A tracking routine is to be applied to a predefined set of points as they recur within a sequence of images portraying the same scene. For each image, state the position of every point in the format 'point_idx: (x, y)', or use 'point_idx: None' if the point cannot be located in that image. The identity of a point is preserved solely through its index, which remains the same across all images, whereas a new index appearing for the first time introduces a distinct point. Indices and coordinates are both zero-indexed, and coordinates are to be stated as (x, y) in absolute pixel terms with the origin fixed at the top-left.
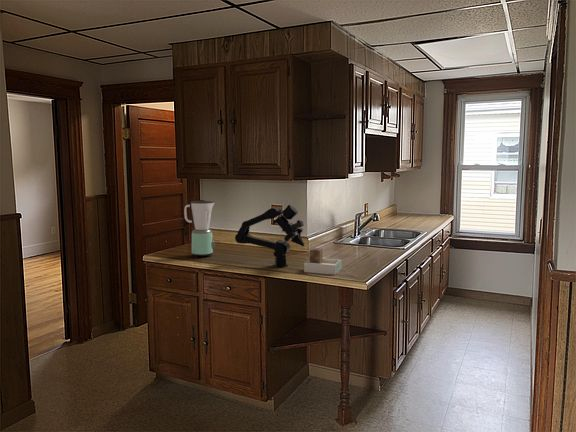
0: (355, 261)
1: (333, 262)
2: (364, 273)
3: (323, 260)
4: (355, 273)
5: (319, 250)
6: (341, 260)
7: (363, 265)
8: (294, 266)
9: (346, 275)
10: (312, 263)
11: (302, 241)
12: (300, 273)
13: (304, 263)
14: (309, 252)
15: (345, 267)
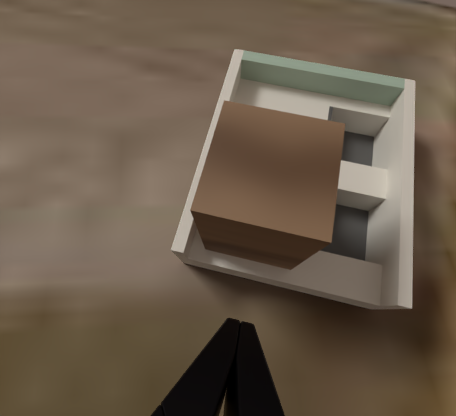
0: (55, 30)
1: None
2: (320, 9)
3: None
4: (329, 40)
5: (339, 127)
6: (234, 52)
7: (151, 5)
8: None
9: None
10: (410, 232)
11: (223, 378)
12: (421, 335)
13: (408, 305)
14: (321, 247)
15: (201, 74)
